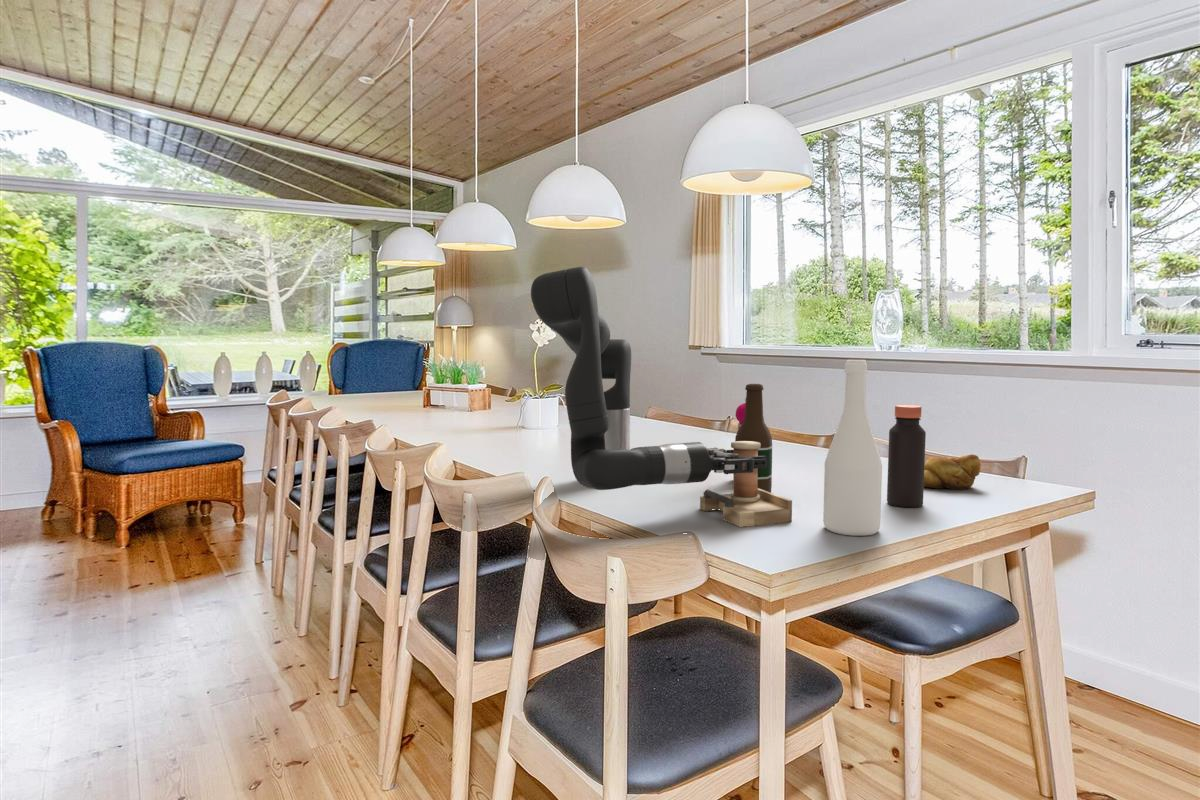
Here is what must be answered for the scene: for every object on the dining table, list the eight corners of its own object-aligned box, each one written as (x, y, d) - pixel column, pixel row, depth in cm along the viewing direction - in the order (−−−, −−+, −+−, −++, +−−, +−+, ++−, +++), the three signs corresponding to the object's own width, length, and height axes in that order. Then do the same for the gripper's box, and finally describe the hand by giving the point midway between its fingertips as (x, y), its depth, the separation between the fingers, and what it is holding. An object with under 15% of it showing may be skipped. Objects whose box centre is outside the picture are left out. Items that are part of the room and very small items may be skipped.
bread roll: (925, 491, 161) (926, 455, 161) (907, 482, 171) (908, 448, 170) (984, 491, 161) (986, 455, 161) (963, 482, 171) (964, 448, 170)
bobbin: (725, 497, 145) (725, 442, 144) (750, 495, 146) (750, 440, 146) (740, 503, 139) (740, 445, 138) (765, 500, 141) (766, 444, 140)
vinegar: (922, 509, 145) (926, 408, 143) (885, 506, 147) (889, 407, 146) (923, 502, 151) (927, 405, 149) (887, 499, 154) (891, 404, 152)
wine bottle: (869, 523, 135) (874, 359, 132) (887, 537, 125) (893, 361, 122) (817, 522, 135) (821, 359, 132) (831, 537, 125) (836, 361, 123)
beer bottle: (754, 502, 151) (755, 386, 149) (726, 495, 157) (727, 383, 155) (779, 497, 156) (781, 384, 153) (751, 491, 162) (753, 382, 160)
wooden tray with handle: (699, 508, 146) (700, 488, 145) (748, 504, 150) (748, 484, 149) (739, 527, 132) (740, 505, 131) (791, 521, 136) (792, 500, 135)
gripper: (697, 449, 130) (776, 443, 136) (663, 438, 144) (736, 434, 149) (697, 490, 131) (775, 484, 137) (663, 476, 144) (735, 470, 150)
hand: (754, 457), depth 143 cm, fingers open, 8 cm apart
